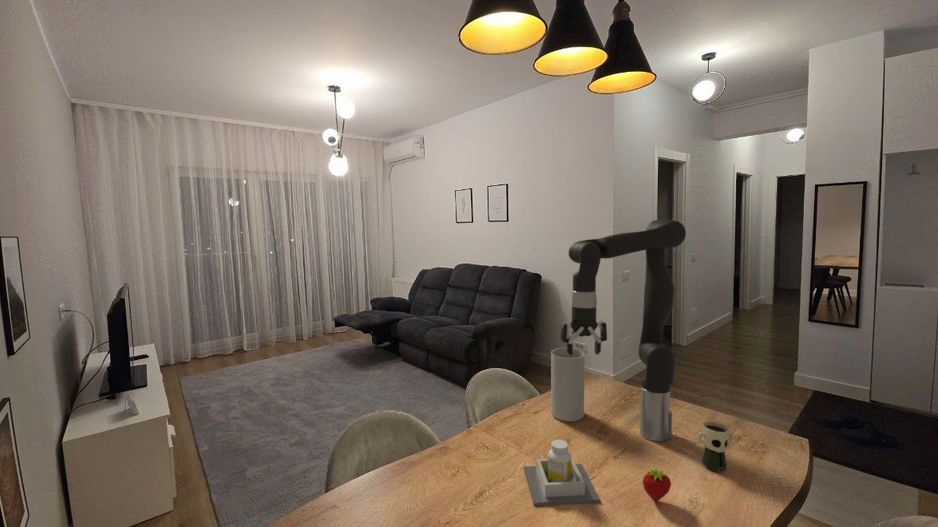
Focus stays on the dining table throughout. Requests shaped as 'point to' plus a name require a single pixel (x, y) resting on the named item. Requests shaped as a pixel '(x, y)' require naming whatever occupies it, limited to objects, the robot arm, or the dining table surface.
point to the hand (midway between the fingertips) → (583, 354)
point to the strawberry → (656, 484)
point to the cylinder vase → (567, 384)
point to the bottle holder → (559, 486)
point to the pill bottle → (559, 462)
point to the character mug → (715, 444)
